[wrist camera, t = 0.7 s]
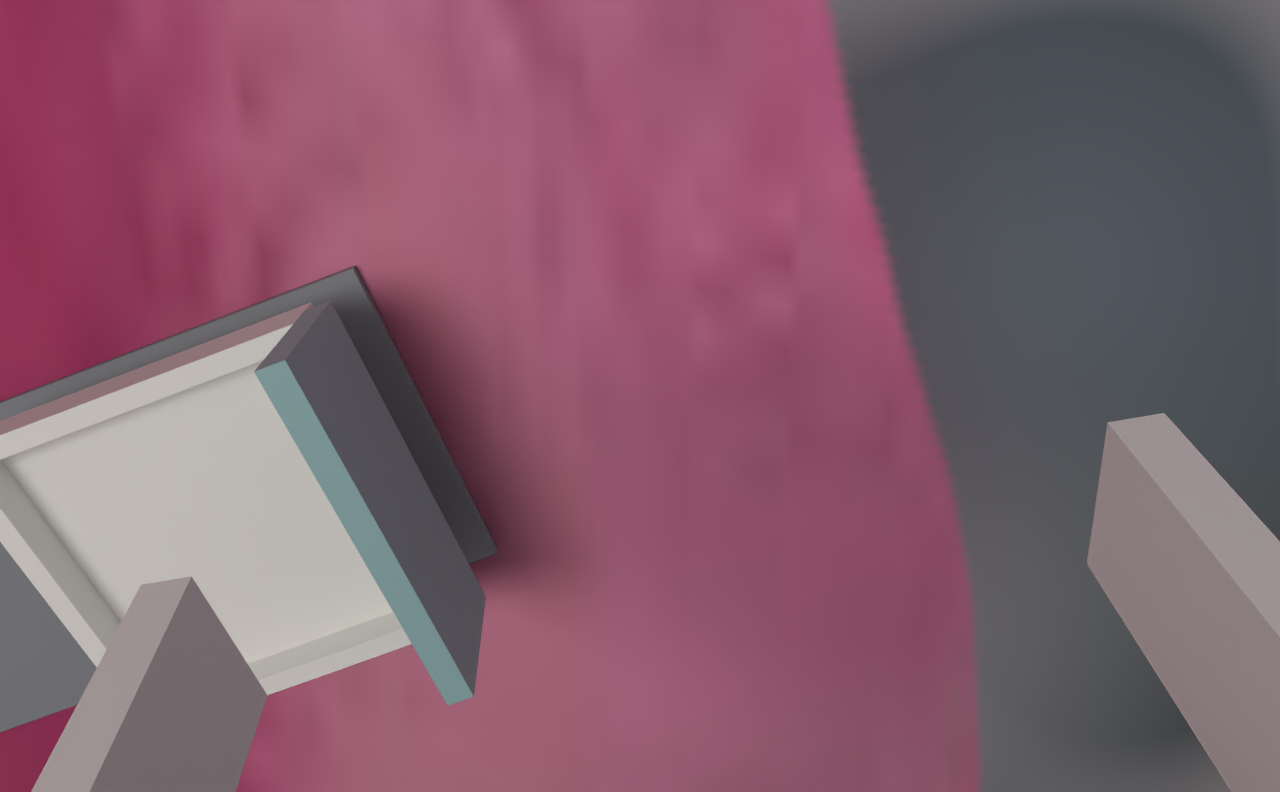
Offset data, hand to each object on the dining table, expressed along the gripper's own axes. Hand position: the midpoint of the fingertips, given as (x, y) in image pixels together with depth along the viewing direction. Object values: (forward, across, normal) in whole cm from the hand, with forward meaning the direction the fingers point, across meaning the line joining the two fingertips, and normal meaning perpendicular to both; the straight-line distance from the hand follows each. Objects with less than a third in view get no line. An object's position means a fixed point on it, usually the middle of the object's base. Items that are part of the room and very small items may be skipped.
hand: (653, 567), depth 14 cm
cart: (+22, +18, +13) cm, 31 cm away
